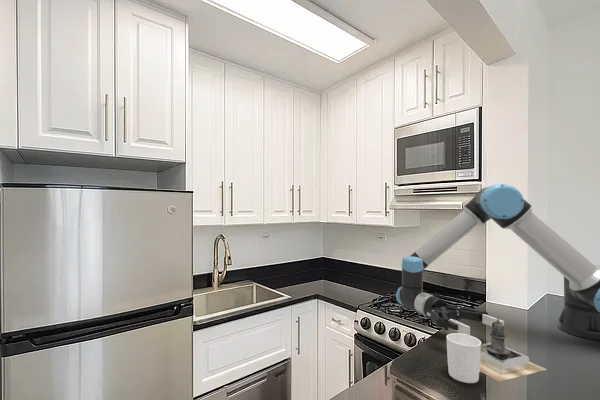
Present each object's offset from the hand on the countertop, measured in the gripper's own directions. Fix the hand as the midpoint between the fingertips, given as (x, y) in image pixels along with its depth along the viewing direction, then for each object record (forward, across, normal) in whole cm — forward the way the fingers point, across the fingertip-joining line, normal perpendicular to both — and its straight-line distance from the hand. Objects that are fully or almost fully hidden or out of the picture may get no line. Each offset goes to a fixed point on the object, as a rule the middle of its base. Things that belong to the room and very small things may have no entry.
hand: (486, 328), depth 90 cm
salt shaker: (+3, 0, -8) cm, 9 cm away
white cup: (+5, +15, -9) cm, 18 cm away
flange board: (+3, 0, -9) cm, 9 cm away
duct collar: (+3, 0, -8) cm, 9 cm away
